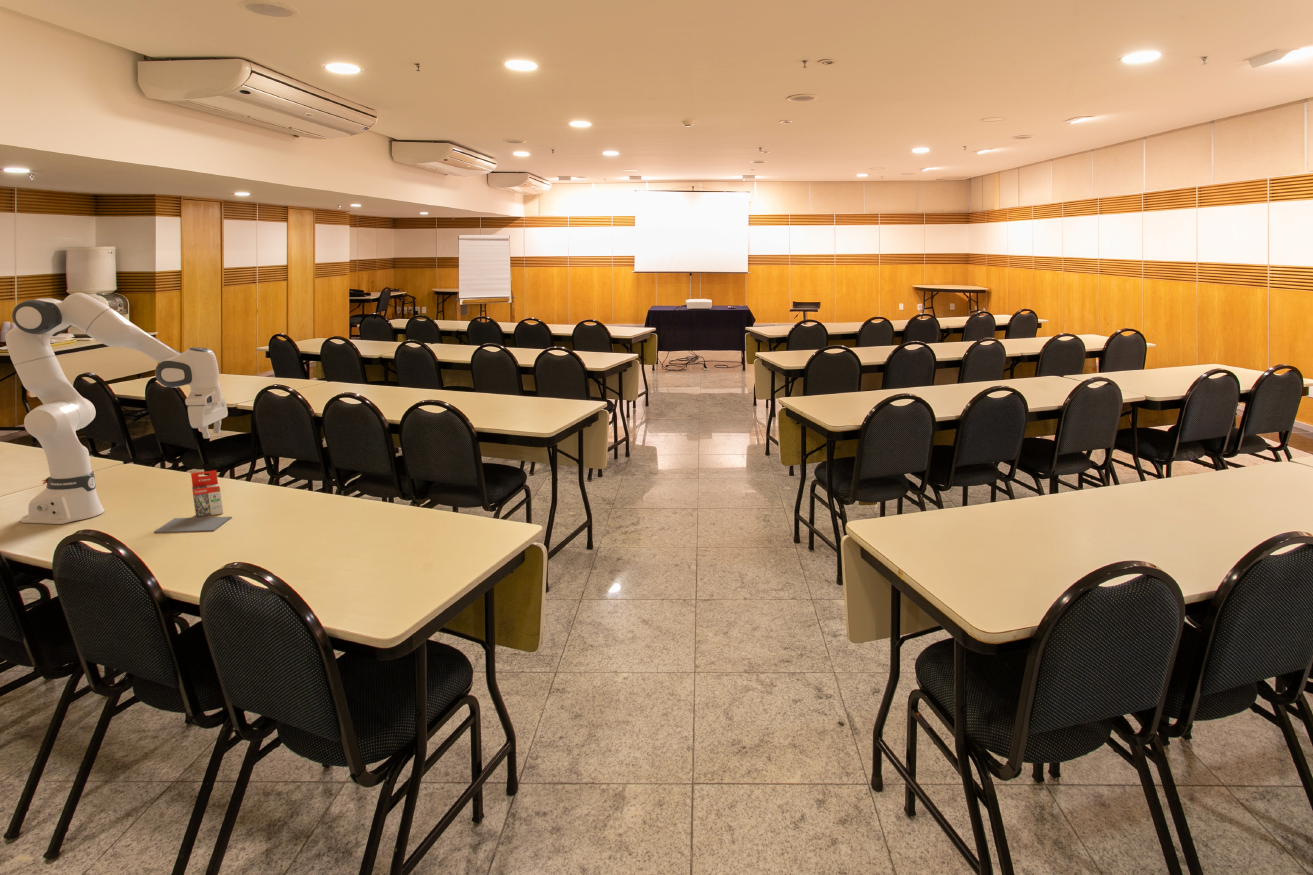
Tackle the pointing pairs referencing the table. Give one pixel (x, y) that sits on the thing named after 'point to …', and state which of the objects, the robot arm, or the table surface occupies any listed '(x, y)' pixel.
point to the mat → (193, 524)
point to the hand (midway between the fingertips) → (212, 435)
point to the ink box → (206, 494)
